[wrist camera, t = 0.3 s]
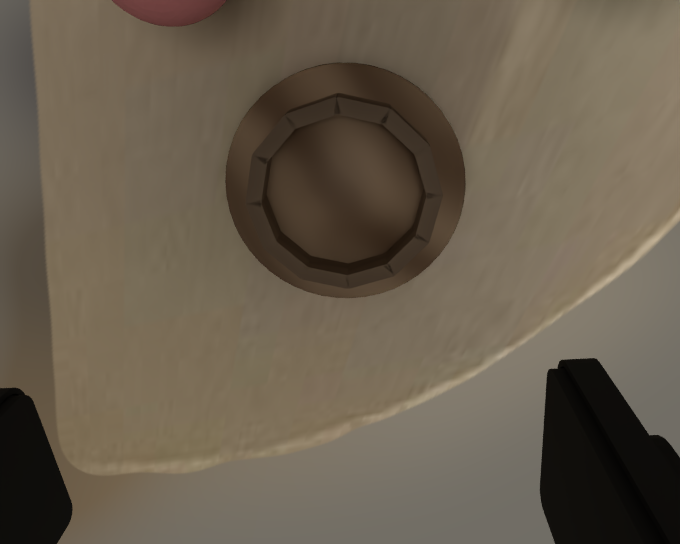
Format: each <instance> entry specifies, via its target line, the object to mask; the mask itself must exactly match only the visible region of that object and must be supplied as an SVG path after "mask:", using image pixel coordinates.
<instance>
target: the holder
mask: <svg viewBox="0 0 680 544" xmlns="http://www.w3.org/2000/svg"><path fill="white" fill-rule="evenodd" d="M226 193H227V200H228V204H229V209H230V213H231V216H232V218H233V221H234V224H235V226H236V228H237V230H238V232H239V234H240V236H241V238H242V240H243V241H244V243H245V244H246V246H247V247H248V249H249V250H250V251H251V252H252V254H253V255H254V256H255V257H256V258H257V259H258V261H259V262H260V263H262V264H263V265H264V266H265V267H266V268H267V269H268V270H269V271H271V272H272V273H273V274H275V275H276V276H278V277H279V278H280V279H282V280H284V281H286V282H287V283H289V284H291V285H293V286H295V287H297V288H300V289H302V290H305V291H307V292H311V293H315V294H318V295H322V296H329V297H336V298H356V297H366V296H370V295H375V294H380V293H383V292H385V291H388V290H391V289H394V288H396V287H398V286H400V285H402V284H404V283H406V282H408V281H409V280H411V279H412V278H414V277H416V276H417V275H419V274H420V273H421V272H422V271H423V270H425V269H426V268H427V267H428V266H429V265H430V264H431V263H432V262H433V261H434V260H435V259H436V258H437V257H438V256H439V255H440V253H441V252H442V250H443V249H444V248H445V246H446V245H447V244H448V242H449V240H450V238H451V236H452V234H453V233H454V231H455V229H456V226H457V223H458V221H459V218H460V215H461V211H462V207H463V203H464V195H465V168H464V162H463V157H462V152H461V149H460V146H459V143H458V140H457V138H456V136H455V134H454V132H453V129H452V127H451V125H450V124H449V122H448V121H447V119H446V118H445V116H444V115H443V113H442V112H441V110H440V109H439V108H438V107H437V106H436V104H435V103H434V102H433V101H432V100H431V99H430V98H429V97H428V96H427V95H426V94H425V93H424V92H423V91H421V90H420V89H419V88H418V87H417V86H415V85H414V84H412V83H411V82H409V81H407V80H406V79H404V78H403V77H401V76H399V75H396V74H394V73H392V72H390V71H388V70H385V69H381V68H378V67H375V66H371V65H365V64H358V63H332V64H325V65H319V66H316V67H312V68H309V69H305V70H303V71H300V72H298V73H296V74H294V75H291V76H289V77H288V78H286V79H284V80H283V81H281V82H280V83H278V84H276V85H275V86H273V87H272V88H271V89H270V90H269V91H267V92H266V93H265V94H264V95H263V96H261V97H260V98H259V100H258V101H257V102H256V103H255V104H254V105H253V106H252V107H251V108H250V110H249V111H248V113H247V114H246V116H245V117H244V119H243V120H242V121H241V123H240V125H239V127H238V129H237V131H236V133H235V135H234V138H233V141H232V144H231V147H230V150H229V155H228V160H227V165H226Z"/></svg>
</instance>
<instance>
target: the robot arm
mask: <svg viewBox="0 0 680 544" xmlns="http://www.w3.org/2000/svg"><path fill="white" fill-rule="evenodd" d="M540 496H541V503H542V507H543V510H544V513H545V516H546V519H547V522H548V524H549V527H550V530H551V533H552V536H553V539H554V541H555V544H680V457H679V456H678V455H677V453H676V452H675V451H674V449H673V448H672V446H671V445H670V444H669V443H668V442H667V440H666V439H664V438H663V437H661V436H659V435H649V434H648V433H647V431H646V430H645V428H644V427H643V425H642V424H641V422H640V421H639V419H638V418H637V417H636V415H635V414H634V412H633V411H632V409H631V408H630V406H629V405H628V403H627V402H626V400H625V399H624V397H623V396H622V395H621V393H620V392H619V390H618V389H617V387H616V386H615V384H614V383H613V381H612V380H611V378H610V377H609V375H608V374H607V372H606V371H605V369H604V368H603V367H602V365H601V364H600V362H599V361H598V360H597V359H595V358H589V359H570V360H561V361H560V362H559V364H558V369H549V370H548V373H547V384H546V400H545V416H544V432H543V447H542V463H541V478H540ZM71 516H72V503H71V500H70V497H69V494H68V492H67V489H66V486H65V484H64V481H63V478H62V476H61V473H60V471H59V468H58V465H57V463H56V460H55V458H54V455H53V452H52V449H51V447H50V444H49V442H48V439H47V436H46V434H45V431H44V428H43V426H42V423H41V420H40V418H39V415H38V413H37V410H36V408H35V405H34V402H33V400H32V399H31V398H30V397H29V396H27V395H25V394H24V392H23V391H22V390H20V389H18V388H0V544H57V543H58V541H59V539H60V538H61V536H62V534H63V533H64V531H65V529H66V528H67V526H68V524H69V522H70V520H71Z"/></svg>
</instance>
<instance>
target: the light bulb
mask: <svg viewBox="0 0 680 544" xmlns="http://www.w3.org/2000/svg"><path fill="white" fill-rule="evenodd" d="M112 1H113V2H114V3H115V4H116V5H118V6H119V7H120V8H122V9H123V10H124V11H126V12H128V13H129V14H131V15H133V16H134V17H136V18H138V19H140V20H143V21H146V22H149V23H152V24H155V25H160V26H185V25H189V24H193V23H196V22H199V21H201V20H203V19H205V18H207V17H209V16H210V15H212V14H213V13H214V12H216V11H217V10H218V9H219V8H220V7H221V6H222V5H223V4H224V3H225V2H226V0H112Z"/></svg>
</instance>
